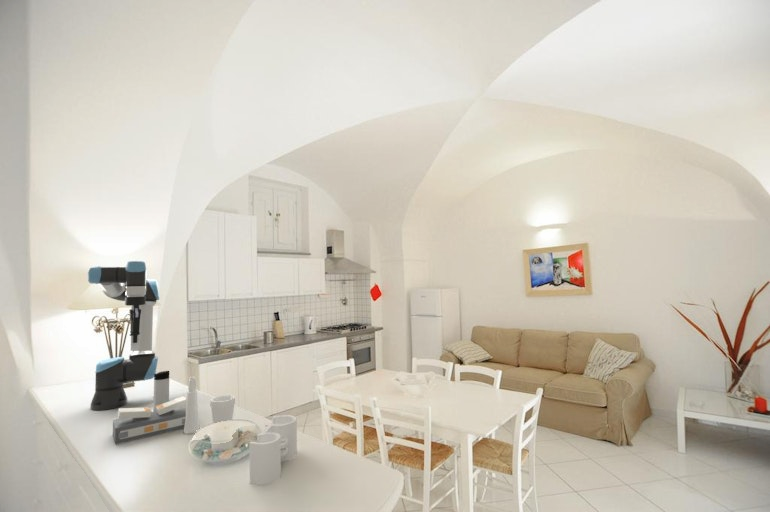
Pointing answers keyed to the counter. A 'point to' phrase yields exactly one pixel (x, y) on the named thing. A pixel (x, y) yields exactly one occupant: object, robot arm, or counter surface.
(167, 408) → the plate
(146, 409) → the rocker
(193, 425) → the cosmetic bottle
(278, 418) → the pair of white mugs
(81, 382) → the counter surface
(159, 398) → the travel mug
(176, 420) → the switch unit
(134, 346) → the robot arm
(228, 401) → the foam cup
